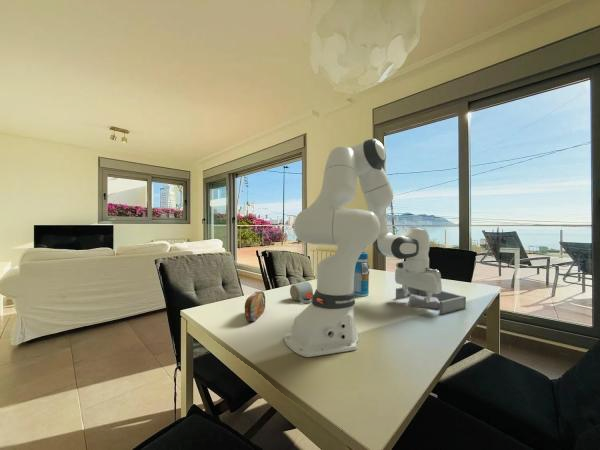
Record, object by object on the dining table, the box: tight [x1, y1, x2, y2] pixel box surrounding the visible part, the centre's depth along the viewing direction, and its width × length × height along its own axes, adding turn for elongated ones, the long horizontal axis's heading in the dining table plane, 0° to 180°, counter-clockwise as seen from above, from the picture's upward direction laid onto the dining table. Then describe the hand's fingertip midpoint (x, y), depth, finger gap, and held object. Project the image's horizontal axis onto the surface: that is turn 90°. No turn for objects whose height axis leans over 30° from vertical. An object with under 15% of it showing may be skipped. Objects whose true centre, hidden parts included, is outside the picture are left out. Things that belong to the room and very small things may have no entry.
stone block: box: [408, 294, 440, 310], centre depth 112 cm, size 12×5×10 cm
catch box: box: [395, 287, 467, 315], centre depth 114 cm, size 15×22×4 cm
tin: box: [244, 291, 266, 322], centre depth 97 cm, size 15×3×8 cm, turn 168°
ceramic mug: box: [289, 280, 314, 305], centre depth 116 cm, size 11×8×8 cm
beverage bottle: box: [353, 251, 370, 297], centre depth 127 cm, size 8×8×20 cm
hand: (416, 298), depth 110 cm, fingers open, 8 cm apart
